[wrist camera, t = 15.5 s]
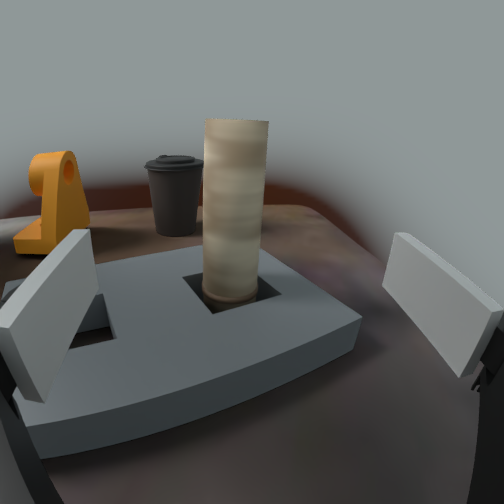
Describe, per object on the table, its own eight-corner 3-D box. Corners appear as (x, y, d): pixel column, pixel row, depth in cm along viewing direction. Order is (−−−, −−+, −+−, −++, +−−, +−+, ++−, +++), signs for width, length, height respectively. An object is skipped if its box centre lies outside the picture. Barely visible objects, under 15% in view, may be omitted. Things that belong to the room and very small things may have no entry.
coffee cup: (155, 219, 46) (153, 152, 42) (208, 221, 47) (209, 153, 43) (139, 239, 39) (135, 161, 35) (201, 242, 39) (202, 161, 35)
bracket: (50, 228, 41) (42, 150, 36) (90, 228, 42) (84, 145, 37) (14, 259, 31) (-1, 164, 26) (59, 260, 32) (46, 157, 27)
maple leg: (194, 311, 26) (194, 118, 20) (238, 299, 28) (248, 119, 22) (217, 341, 22) (222, 119, 16) (265, 325, 25) (283, 122, 18)
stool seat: (11, 462, 10) (-16, 431, 9) (15, 311, 22) (5, 282, 21) (352, 349, 22) (362, 316, 21) (243, 263, 34) (244, 237, 33)
